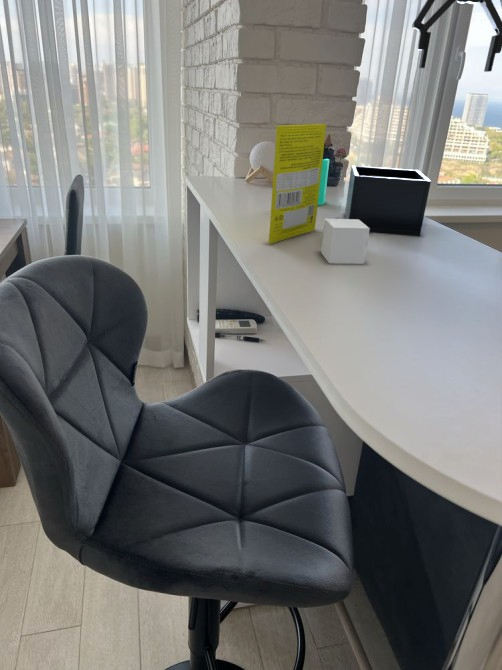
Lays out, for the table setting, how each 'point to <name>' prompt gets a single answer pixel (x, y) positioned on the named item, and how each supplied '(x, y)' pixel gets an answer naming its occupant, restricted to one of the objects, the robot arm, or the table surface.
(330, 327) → the table surface
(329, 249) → the white cube
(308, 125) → the food package
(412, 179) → the black open storage box
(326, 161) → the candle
